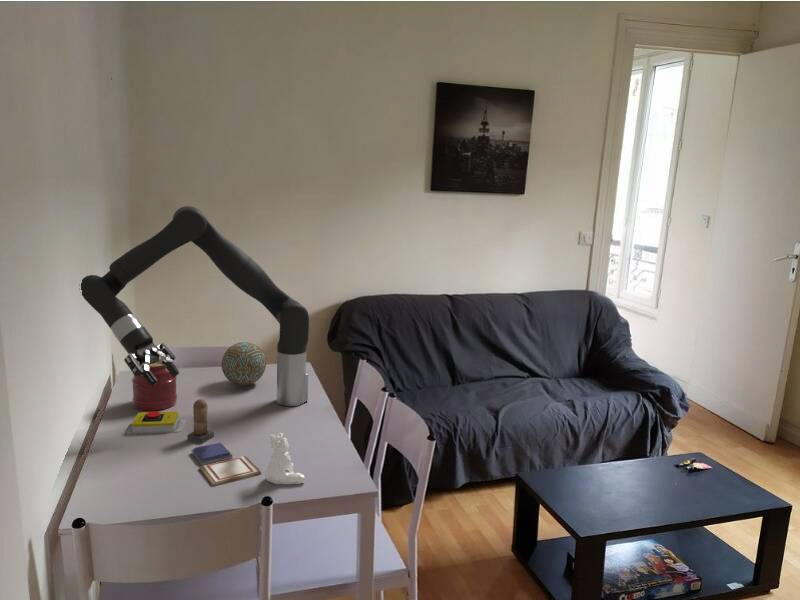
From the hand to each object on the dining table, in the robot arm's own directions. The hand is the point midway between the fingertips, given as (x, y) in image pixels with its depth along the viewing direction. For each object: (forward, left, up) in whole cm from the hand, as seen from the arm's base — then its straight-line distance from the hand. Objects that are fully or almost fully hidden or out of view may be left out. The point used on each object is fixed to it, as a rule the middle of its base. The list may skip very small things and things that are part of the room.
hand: (166, 379), depth 169 cm
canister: (-2, -23, -16) cm, 28 cm away
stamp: (-6, +9, -15) cm, 19 cm away
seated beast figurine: (-16, +42, -16) cm, 47 cm away
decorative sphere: (-33, -28, -15) cm, 46 cm away
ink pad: (-5, +21, -15) cm, 27 cm away
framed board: (-6, +32, -15) cm, 36 cm away
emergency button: (+2, -5, -16) cm, 17 cm away
